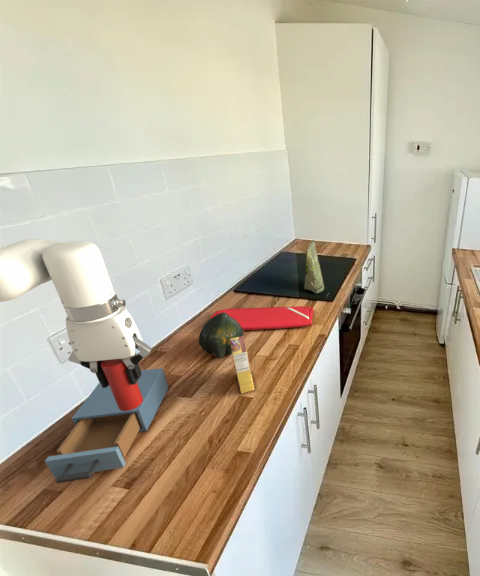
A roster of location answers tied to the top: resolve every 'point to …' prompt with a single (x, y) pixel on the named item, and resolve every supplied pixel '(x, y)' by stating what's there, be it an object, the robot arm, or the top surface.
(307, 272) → the pale green cone
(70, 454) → the drawer
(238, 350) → the candy box
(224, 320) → the squash
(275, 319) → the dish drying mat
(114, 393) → the tin
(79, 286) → the robot arm
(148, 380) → the cabinet
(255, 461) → the top surface
